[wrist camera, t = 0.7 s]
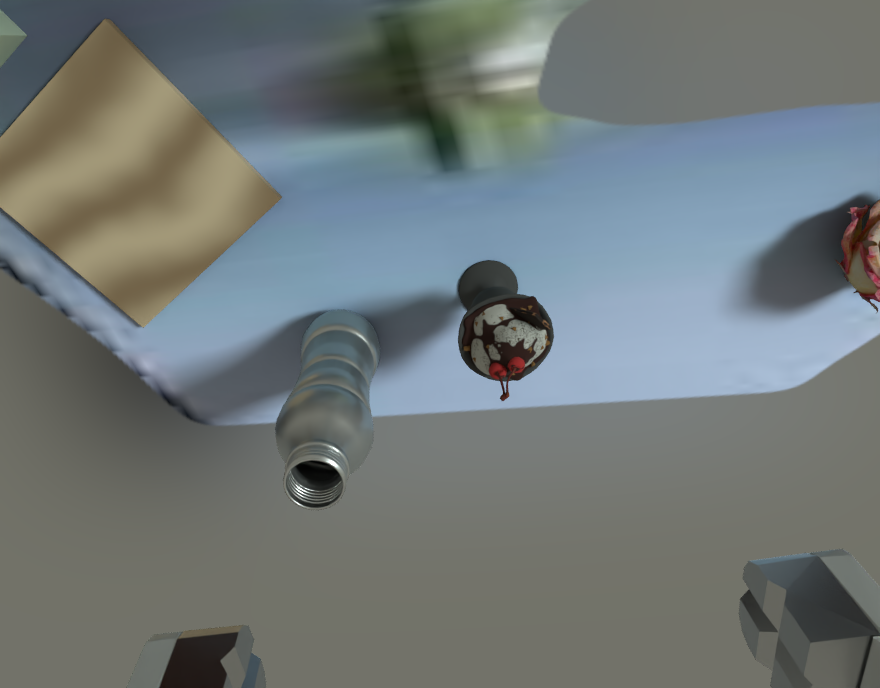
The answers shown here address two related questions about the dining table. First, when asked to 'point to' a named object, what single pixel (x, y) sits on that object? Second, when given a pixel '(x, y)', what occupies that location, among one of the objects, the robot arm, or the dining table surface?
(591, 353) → the dining table surface
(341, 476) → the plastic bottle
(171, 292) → the tan square board
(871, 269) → the flower
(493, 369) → the sundae
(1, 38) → the sage block
